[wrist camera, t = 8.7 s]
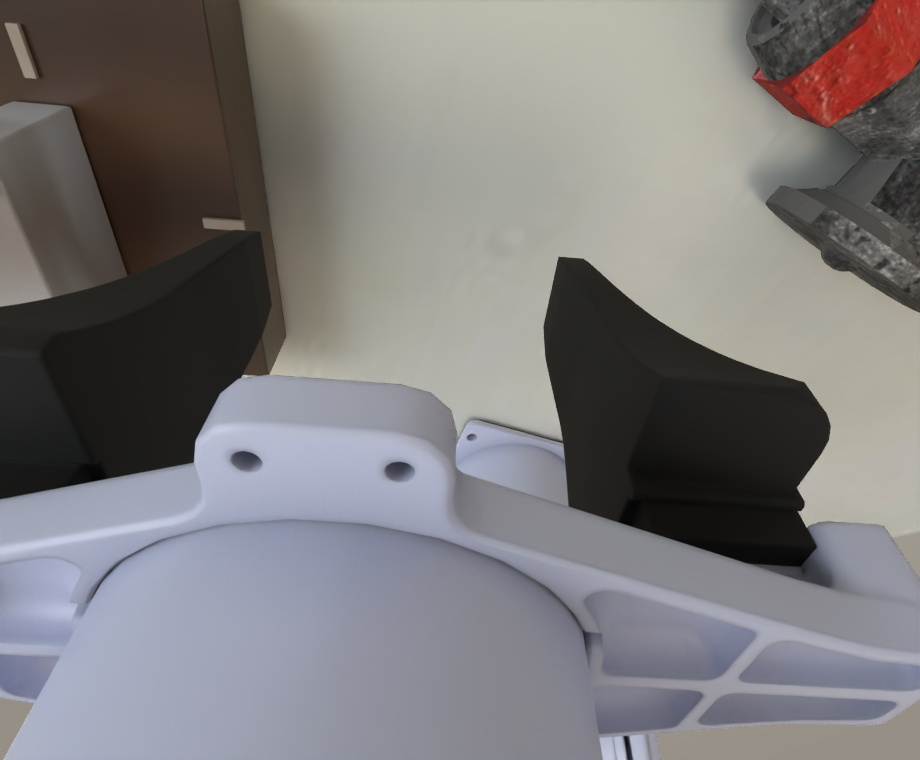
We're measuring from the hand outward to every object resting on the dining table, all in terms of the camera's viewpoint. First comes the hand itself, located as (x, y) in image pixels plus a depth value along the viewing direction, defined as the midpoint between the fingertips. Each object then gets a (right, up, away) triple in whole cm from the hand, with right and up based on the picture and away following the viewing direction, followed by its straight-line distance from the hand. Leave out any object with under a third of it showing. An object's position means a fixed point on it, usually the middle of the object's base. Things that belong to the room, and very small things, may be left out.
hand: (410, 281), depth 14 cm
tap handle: (-12, +3, +6) cm, 14 cm away
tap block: (-12, +5, +8) cm, 15 cm away
